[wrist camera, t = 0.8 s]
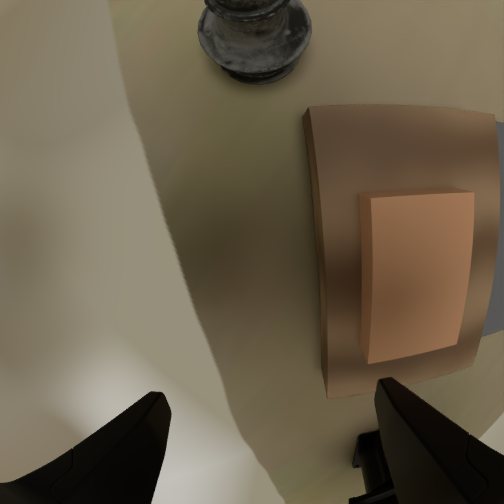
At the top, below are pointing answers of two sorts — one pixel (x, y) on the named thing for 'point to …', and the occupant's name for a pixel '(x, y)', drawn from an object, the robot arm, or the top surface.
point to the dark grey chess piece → (255, 37)
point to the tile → (414, 269)
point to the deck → (389, 179)
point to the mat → (498, 256)
